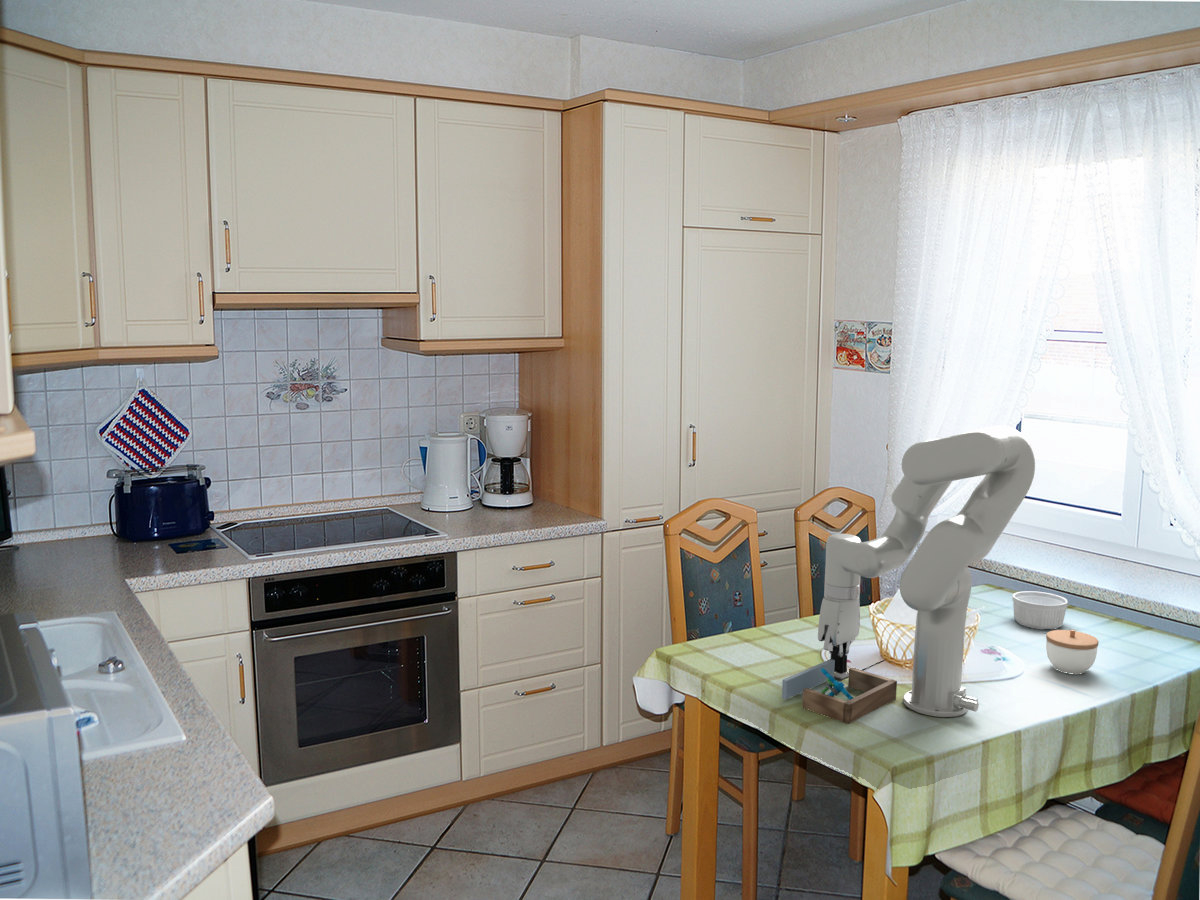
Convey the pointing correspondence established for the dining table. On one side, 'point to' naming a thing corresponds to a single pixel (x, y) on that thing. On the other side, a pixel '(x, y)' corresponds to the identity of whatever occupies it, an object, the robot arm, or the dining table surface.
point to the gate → (806, 679)
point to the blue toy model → (834, 686)
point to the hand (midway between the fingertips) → (838, 671)
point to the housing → (874, 697)
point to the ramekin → (1039, 609)
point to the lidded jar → (1071, 650)
